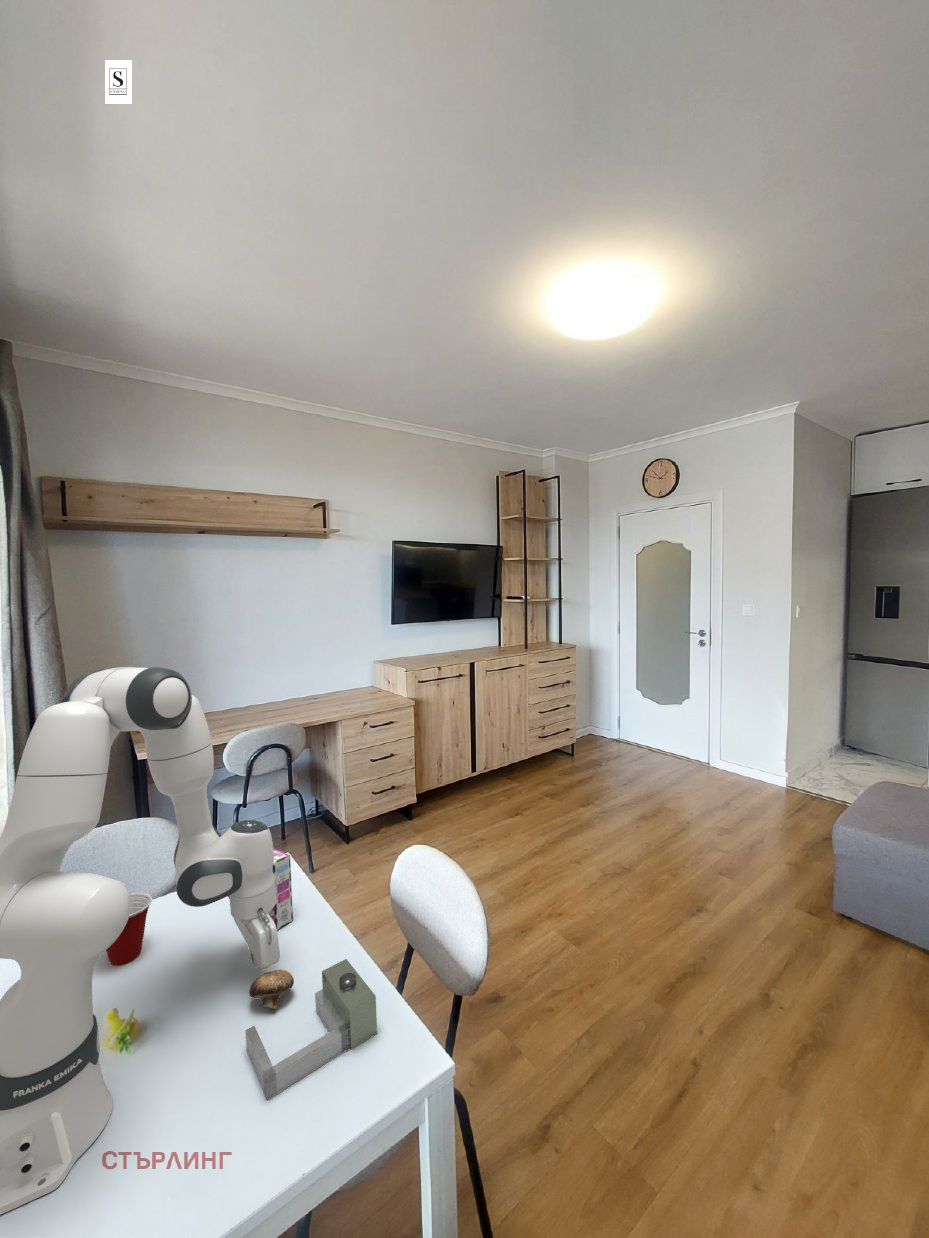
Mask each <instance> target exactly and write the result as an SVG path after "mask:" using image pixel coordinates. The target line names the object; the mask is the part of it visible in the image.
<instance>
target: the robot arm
mask: <svg viewBox="0 0 929 1238" xmlns="http://www.w3.org/2000/svg"><path fill="white" fill-rule="evenodd" d="M135 731H138V732H140V733H141V735H142V736H143V739H144V747H145V754H146V760H147V764H148V768H149V771H150V775H151V778H152V779H153V782H154V784H155V786H156V789H157V790H158V792H159V793H161V794H162V795H165V796H167V797H168V798H170V800H171V802H172V804H173V809H174V814H175V819H176V825H177V829H178V838H177V839H178V840H177V843H176V847H175V850H174V853H173V865H174V870H175V885H176V886H175V887H176V889H175V890H176V895H177V897H178V899H179V900H180V901H181V902H182V903H183V904H185V905H187V906H188V907H189V906H190V907H195V908H199V907H204V906H208V905H211V904H213V903H215V902H218V901H220V900H223V899H224V898H225V899H226V898H227V897H228V899H229V906H230V909H229V911H230V915H231V917H232V918H233V921H234V923H235V925H236V927H237V929H238V930H239V932H240V933H241V936H242V937H243V939H244V941H245V943H246V945H247V946H248V947H247V948H248V950H249V957H250V961H251V962H252V964H253V966H254V968H256V969H257V968H260V969H261V970H265V969H267V968H270V967H272V966H273V965H276V964H277V963H279V961H280V958H281V957H280V956H281V955H280V954H281V953H280V944H279V934H278V930H277V928H276V925H275V923H274V921H273V920H272V918H271V917H270V915H269V913H270V910H271V909H272V908H273V907H274V906H275V904H276V886H275V876H274V874H273V864H274V852H273V848H274V845H273V844H274V843H273V837H272V833H271V831H270V828H269V827H268V825H266V824H265V823H264V822H262V821H258V820H255V819H245V820H239V821H237V822H234V823H233V824H231V826H229V828H228V829H227V830H226V832H224V833H223V834H221V833H220V832H219V831H218V829H217V828H216V827H215V825H214V824H213V822H212V816H211V811H210V810H211V809H210V806H209V801H208V792H207V790H208V784H209V783H210V782H211V780H212V778H213V777H214V771H215V770H214V767H215V766H214V765H215V761H214V759H215V758H214V757H215V756H214V748H213V747H214V746H213V741H212V740H213V739H212V737H211V732H210V728H209V724H208V722H207V719H206V715H205V712H204V710H203V707H202V705H201V702H200V700H199V699H198V698H197V697H196V696H194V695H193V694H192V691H191V688H190V686H189V683H188V682H187V680H186V678H184V676H183V675H182V674H181V673H179V671H176V670H173V669H170V668H167V667H160V666H154V667H153V666H152V667H134V666H122V667H113V668H107V669H103V668H102V669H96V670H92V671H89V672H87V673H84V674H82V675H80V676H78V677H77V678H76V679H74V680H73V681H72V682H71V683H70V684H69V685H68V687H67V688H66V690H65V692H64V694H63V696H62V699H61V700H60V701H59V703H56V704H53V705H51V706H49V707H47V708H45V709H44V710H43V711H42V712H41V713H40V714H39V715H38V716H37V718H36V720H35V723H34V724H33V727H32V729H31V731H30V733H29V736H28V738H27V741H26V744H25V747H24V749H23V751H22V755H21V759H20V763H19V766H18V771H17V774H16V779H15V784H14V787H13V788H14V789H13V792H12V795H11V801H10V805H9V809H8V812H7V817H6V821H5V825H4V827H3V830H2V832H1V835H0V959H3V960H5V959H6V960H13V961H15V962H16V963H17V964H18V966H19V968H20V978H19V979H18V980H17V981H16V982H14V983H13V984H12V985H11V986H10V987H9V988H8V989H7V990H6V991H5V992H4V994H3V995H2V997H1V998H0V1215H3V1214H5V1213H7V1212H9V1211H12V1210H14V1209H16V1208H18V1207H21V1206H24V1205H25V1204H27V1203H30V1202H31V1201H34V1200H36V1199H38V1198H41V1197H42V1196H45V1195H46V1194H49V1193H51V1192H54V1191H55V1190H56V1189H57V1188H58V1187H59V1186H60V1185H61V1184H63V1182H64V1180H65V1179H66V1178H67V1176H68V1175H69V1173H70V1171H71V1169H72V1168H73V1166H74V1164H75V1163H76V1162H77V1160H79V1158H80V1157H81V1156H82V1155H83V1154H84V1153H85V1152H86V1151H87V1150H88V1149H89V1147H91V1145H92V1144H93V1143H94V1142H95V1141H96V1140H97V1138H98V1137H99V1136H100V1134H101V1133H102V1131H103V1130H104V1128H105V1127H106V1125H107V1123H108V1121H109V1119H110V1117H111V1114H112V1110H113V1103H114V1101H113V1096H112V1093H111V1092H110V1090H109V1089H108V1087H107V1084H106V1082H105V1080H104V1077H103V1073H102V1068H101V1065H100V1061H99V1059H100V1053H101V1044H100V1043H101V1042H100V1040H101V1039H100V1038H101V1037H100V1031H99V1030H100V1028H99V1024H98V1021H97V1017H96V1015H95V1014H94V1011H93V1010H94V1009H93V1008H94V1007H93V974H94V969H95V965H96V963H97V961H98V958H99V957H100V955H102V954H103V953H104V952H106V949H108V948H109V947H110V946H111V945H112V944H113V943H114V942H115V941H116V939H117V938H118V937H119V935H120V934H121V932H122V931H123V929H124V927H125V925H126V923H127V921H128V918H129V915H130V910H131V897H130V891H129V887H128V886H127V885H126V884H125V883H124V882H123V881H121V880H117V879H115V878H111V877H109V876H105V875H101V874H98V873H94V872H71V871H69V872H66V871H65V872H64V871H63V872H62V871H61V867H62V863H63V861H64V858H65V856H66V854H67V852H68V851H69V849H70V848H71V846H72V845H73V844H74V843H75V842H76V841H79V840H80V839H82V838H84V837H86V836H87V835H88V834H90V833H91V832H92V831H93V830H94V829H95V828H96V827H97V825H98V823H99V822H100V819H101V818H100V817H101V811H102V806H103V801H104V795H105V790H106V784H107V778H108V771H109V766H110V758H111V757H110V755H111V747H112V745H113V744H114V741H115V740H116V738H117V737H118V735H119V734H120V733H121V732H135Z"/></svg>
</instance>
